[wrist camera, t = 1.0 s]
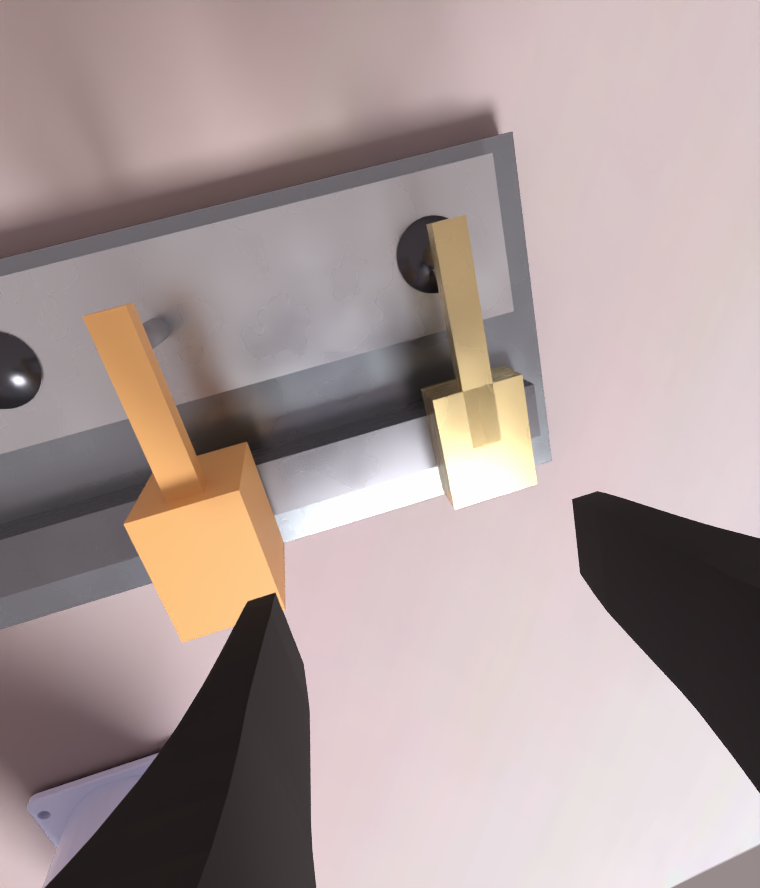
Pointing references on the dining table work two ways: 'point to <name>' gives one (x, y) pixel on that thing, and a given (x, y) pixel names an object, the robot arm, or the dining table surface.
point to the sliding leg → (188, 493)
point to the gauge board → (276, 362)
